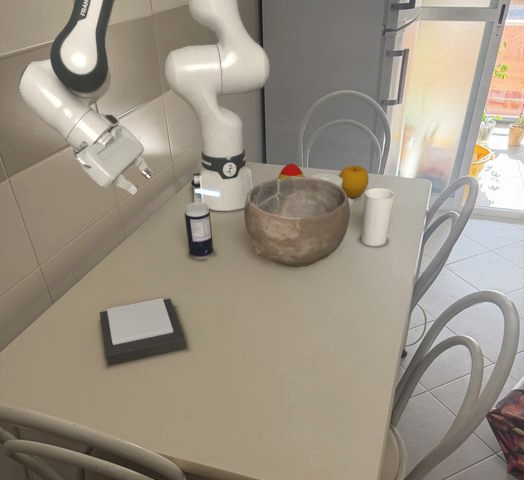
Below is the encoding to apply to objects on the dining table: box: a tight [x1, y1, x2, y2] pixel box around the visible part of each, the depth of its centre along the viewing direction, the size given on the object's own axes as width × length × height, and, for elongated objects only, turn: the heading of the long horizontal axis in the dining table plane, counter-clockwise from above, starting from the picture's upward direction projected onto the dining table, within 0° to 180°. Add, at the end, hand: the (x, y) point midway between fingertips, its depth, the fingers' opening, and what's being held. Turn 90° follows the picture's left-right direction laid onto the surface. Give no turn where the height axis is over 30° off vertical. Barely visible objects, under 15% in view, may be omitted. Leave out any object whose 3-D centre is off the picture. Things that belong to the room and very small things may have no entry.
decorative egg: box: [277, 163, 305, 179], centre depth 139 cm, size 8×8×10 cm
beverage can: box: [184, 202, 214, 259], centre depth 114 cm, size 6×6×12 cm
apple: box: [338, 165, 370, 199], centre depth 140 cm, size 9×8×9 cm
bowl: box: [243, 176, 351, 268], centre depth 112 cm, size 24×24×15 cm
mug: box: [360, 187, 396, 247], centre depth 119 cm, size 10×7×12 cm, turn 157°
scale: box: [99, 297, 187, 367], centre depth 93 cm, size 14×14×3 cm
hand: (143, 183), depth 109 cm, fingers open, 8 cm apart
